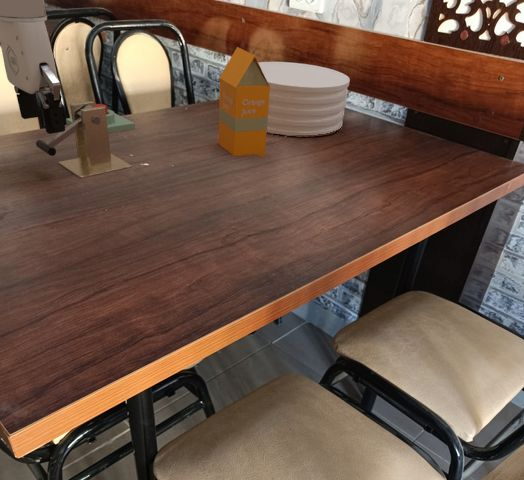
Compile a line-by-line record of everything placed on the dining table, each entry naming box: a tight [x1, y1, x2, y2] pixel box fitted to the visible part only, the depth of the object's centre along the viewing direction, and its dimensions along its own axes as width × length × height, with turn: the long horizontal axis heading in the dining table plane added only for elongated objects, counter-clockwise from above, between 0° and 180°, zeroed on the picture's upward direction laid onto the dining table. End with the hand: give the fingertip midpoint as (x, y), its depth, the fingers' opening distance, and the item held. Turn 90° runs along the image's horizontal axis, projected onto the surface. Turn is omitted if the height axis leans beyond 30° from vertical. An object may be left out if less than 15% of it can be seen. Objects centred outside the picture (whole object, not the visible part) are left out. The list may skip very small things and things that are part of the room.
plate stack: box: [257, 61, 351, 135], centre depth 132 cm, size 28×28×12 cm
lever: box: [35, 105, 94, 157], centre depth 92 cm, size 12×5×2 cm, turn 133°
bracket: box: [57, 100, 133, 179], centre depth 96 cm, size 11×9×12 cm
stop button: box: [94, 103, 108, 115], centre depth 115 cm, size 4×4×2 cm
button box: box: [65, 108, 136, 134], centre depth 117 cm, size 12×10×4 cm
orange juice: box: [218, 46, 270, 157], centre depth 108 cm, size 8×9×20 cm
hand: (43, 124), depth 88 cm, fingers open, 9 cm apart
